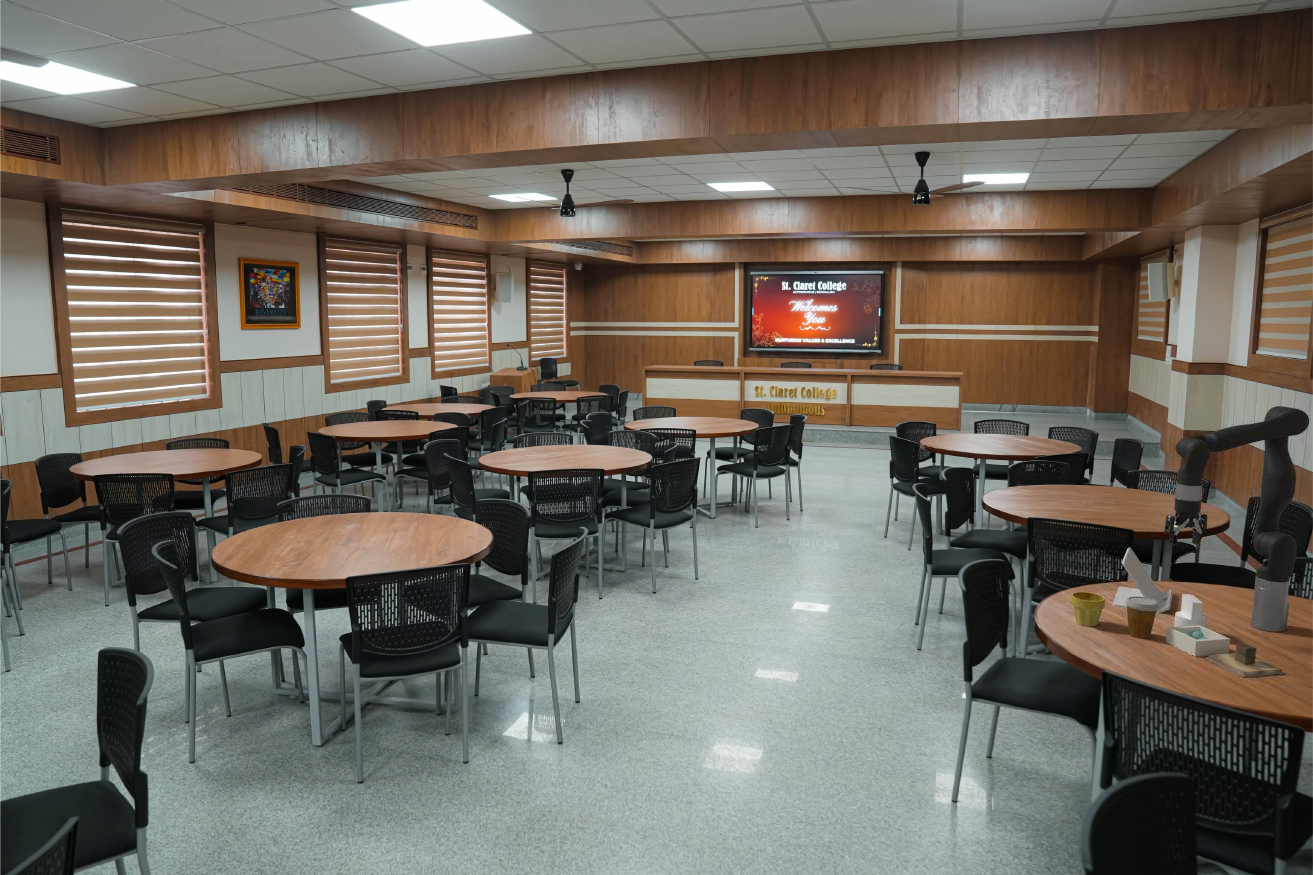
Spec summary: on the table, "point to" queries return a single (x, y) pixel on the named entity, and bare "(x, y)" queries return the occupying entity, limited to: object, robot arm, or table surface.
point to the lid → (1245, 661)
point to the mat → (1239, 673)
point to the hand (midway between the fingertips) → (1184, 544)
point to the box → (1197, 641)
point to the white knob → (1190, 612)
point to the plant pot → (1087, 607)
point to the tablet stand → (1141, 585)
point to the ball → (1197, 635)
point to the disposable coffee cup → (1141, 616)
